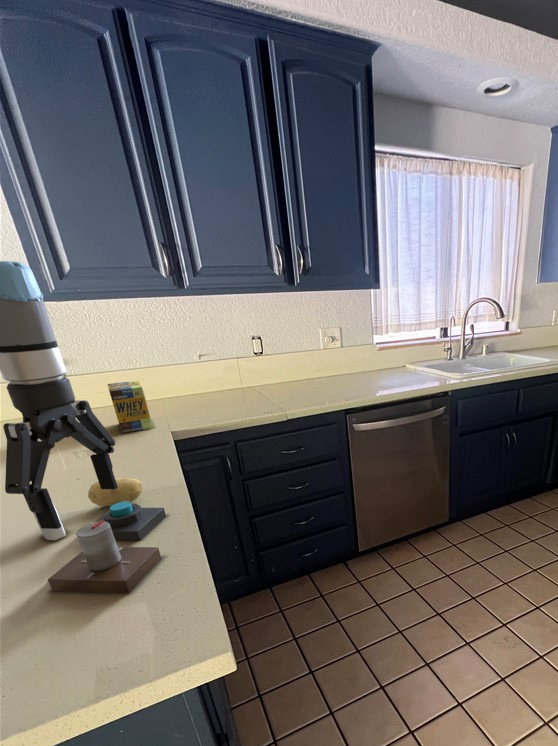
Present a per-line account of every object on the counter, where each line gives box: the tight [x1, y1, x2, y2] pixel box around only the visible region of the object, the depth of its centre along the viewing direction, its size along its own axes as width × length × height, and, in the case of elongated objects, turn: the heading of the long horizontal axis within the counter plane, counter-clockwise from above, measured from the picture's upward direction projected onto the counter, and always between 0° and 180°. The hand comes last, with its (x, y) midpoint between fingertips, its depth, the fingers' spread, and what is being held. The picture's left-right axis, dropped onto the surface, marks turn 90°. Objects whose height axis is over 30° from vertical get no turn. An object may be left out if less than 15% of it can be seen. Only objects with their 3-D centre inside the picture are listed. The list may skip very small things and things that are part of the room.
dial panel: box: [47, 546, 162, 594], centre depth 77 cm, size 14×10×3 cm
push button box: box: [92, 503, 167, 541], centre depth 92 cm, size 12×10×4 cm
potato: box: [87, 477, 143, 508], centre depth 102 cm, size 7×11×6 cm, turn 111°
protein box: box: [107, 380, 154, 434], centre depth 159 cm, size 10×15×16 cm
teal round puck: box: [109, 501, 133, 517], centre depth 90 cm, size 4×4×2 cm
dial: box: [75, 520, 121, 571], centre depth 75 cm, size 5×5×7 cm
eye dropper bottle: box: [32, 501, 66, 541], centre depth 88 cm, size 4×6×12 cm
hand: (83, 506), depth 72 cm, fingers open, 13 cm apart
